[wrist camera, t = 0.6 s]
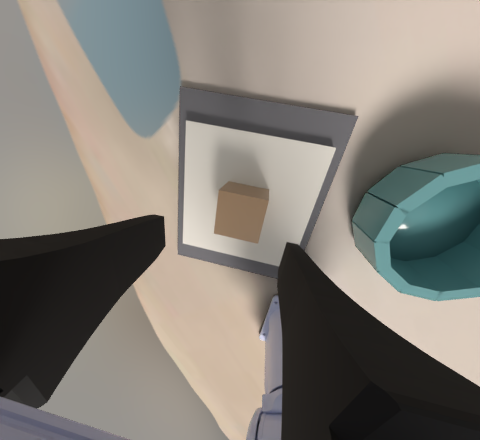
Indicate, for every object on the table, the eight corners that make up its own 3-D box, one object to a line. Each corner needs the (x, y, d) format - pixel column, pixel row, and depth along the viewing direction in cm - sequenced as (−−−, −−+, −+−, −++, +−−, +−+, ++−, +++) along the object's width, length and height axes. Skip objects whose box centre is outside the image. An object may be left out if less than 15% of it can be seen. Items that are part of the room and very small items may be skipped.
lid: (289, 264, 20) (294, 293, 16) (185, 240, 21) (166, 261, 17) (333, 147, 15) (355, 149, 11) (189, 121, 16) (163, 114, 12)
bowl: (435, 272, 18) (488, 313, 14) (332, 248, 19) (350, 280, 15) (524, 168, 14) (646, 180, 9) (382, 143, 15) (432, 143, 10)
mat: (291, 279, 22) (291, 282, 21) (179, 252, 23) (177, 254, 22) (355, 117, 14) (358, 116, 14) (182, 87, 15) (179, 86, 15)
